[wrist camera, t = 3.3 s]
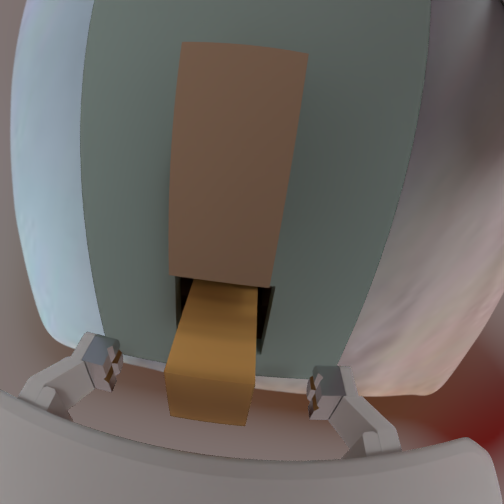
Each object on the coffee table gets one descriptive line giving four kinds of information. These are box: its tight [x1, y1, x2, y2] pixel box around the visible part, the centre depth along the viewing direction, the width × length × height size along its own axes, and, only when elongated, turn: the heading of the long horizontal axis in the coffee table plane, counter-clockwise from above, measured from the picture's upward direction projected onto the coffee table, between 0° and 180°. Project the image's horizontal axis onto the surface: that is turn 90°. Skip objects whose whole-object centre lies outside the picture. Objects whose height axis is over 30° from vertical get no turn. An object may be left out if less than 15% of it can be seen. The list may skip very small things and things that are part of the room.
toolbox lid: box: [80, 0, 431, 379], centre depth 10 cm, size 20×13×5 cm, turn 173°
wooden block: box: [164, 279, 258, 426], centre depth 16 cm, size 3×3×13 cm
